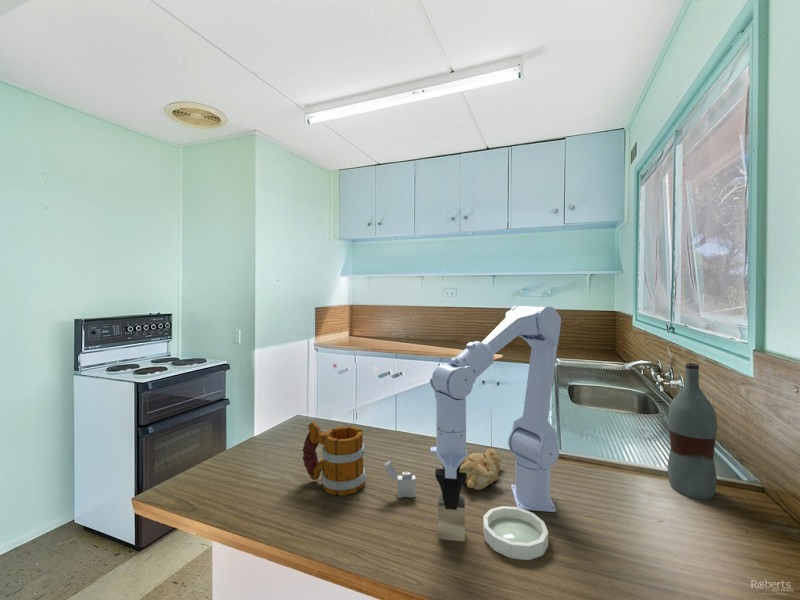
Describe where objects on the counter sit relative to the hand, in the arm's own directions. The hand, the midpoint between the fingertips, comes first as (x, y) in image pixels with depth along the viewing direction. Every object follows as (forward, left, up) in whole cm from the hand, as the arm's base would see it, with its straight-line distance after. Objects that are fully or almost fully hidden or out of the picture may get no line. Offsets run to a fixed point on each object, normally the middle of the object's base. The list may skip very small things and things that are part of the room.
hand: (451, 496), depth 70 cm
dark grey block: (0, 0, -8) cm, 8 cm away
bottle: (-24, +56, -8) cm, 61 cm away
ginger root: (-22, +6, -8) cm, 24 cm away
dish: (-1, +12, -8) cm, 14 cm away
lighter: (-12, -12, -8) cm, 19 cm away
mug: (-15, -29, -8) cm, 33 cm away
